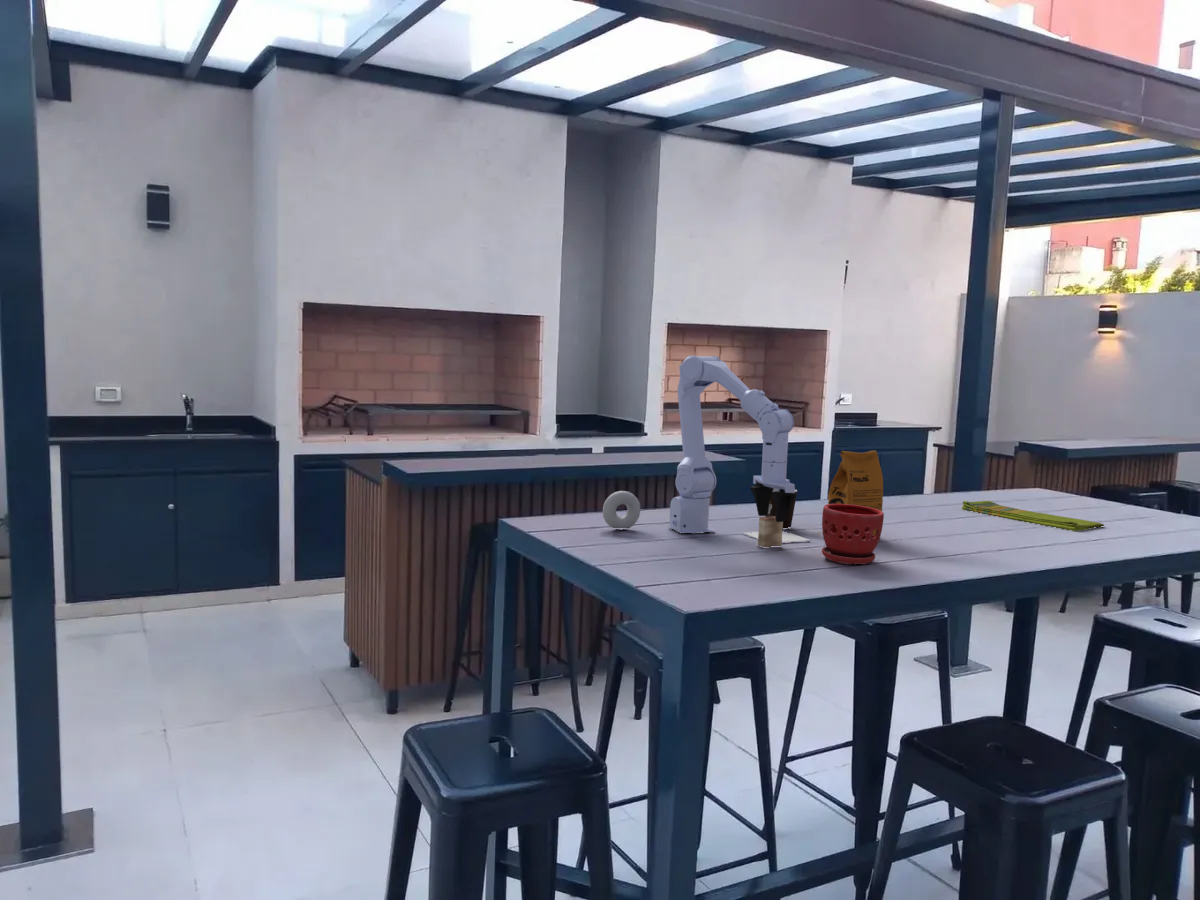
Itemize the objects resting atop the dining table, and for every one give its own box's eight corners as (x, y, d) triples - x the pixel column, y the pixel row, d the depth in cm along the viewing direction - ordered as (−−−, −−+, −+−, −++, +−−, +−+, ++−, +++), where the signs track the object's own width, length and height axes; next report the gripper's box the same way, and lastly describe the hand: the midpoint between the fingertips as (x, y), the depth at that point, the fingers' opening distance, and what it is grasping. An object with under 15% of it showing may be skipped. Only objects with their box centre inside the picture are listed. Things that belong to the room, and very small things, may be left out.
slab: (763, 548, 216) (764, 519, 215) (757, 546, 218) (759, 517, 217) (781, 547, 217) (783, 518, 217) (775, 545, 220) (777, 516, 219)
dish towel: (990, 507, 287) (991, 497, 287) (1105, 529, 258) (1106, 517, 257) (959, 511, 279) (960, 500, 278) (1074, 533, 249) (1075, 522, 249)
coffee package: (820, 534, 234) (825, 448, 232) (861, 532, 238) (866, 448, 236) (842, 542, 225) (848, 453, 222) (885, 540, 229) (891, 452, 227)
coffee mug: (798, 531, 237) (800, 492, 236) (764, 529, 237) (766, 491, 236) (789, 522, 249) (791, 485, 248) (757, 521, 249) (759, 484, 248)
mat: (768, 544, 220) (768, 542, 220) (742, 534, 231) (742, 532, 231) (810, 541, 224) (810, 540, 224) (782, 531, 235) (782, 530, 235)
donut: (636, 528, 234) (638, 489, 233) (641, 530, 231) (643, 491, 230) (599, 529, 231) (601, 490, 230) (604, 532, 228) (606, 492, 226)
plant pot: (839, 569, 198) (843, 514, 196) (809, 554, 210) (812, 503, 209) (892, 566, 201) (896, 512, 200) (859, 553, 214) (862, 502, 213)
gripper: (807, 465, 210) (803, 523, 212) (771, 457, 223) (769, 512, 225) (780, 465, 207) (777, 525, 209) (746, 457, 221) (744, 513, 222)
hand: (771, 518), depth 217 cm, fingers open, 7 cm apart
